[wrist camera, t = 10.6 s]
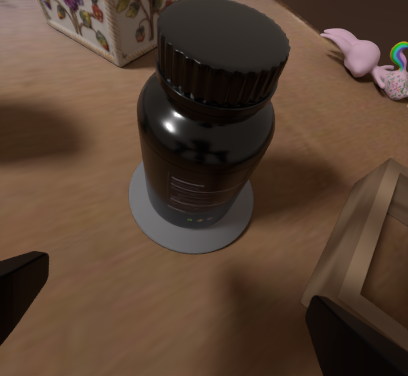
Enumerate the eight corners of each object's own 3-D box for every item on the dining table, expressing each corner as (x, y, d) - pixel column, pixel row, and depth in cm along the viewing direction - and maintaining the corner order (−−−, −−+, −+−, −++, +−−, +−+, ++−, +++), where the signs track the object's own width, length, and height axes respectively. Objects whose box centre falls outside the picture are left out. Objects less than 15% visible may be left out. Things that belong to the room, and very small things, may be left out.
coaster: (256, 259, 17) (257, 258, 16) (115, 247, 16) (114, 246, 15) (249, 152, 22) (250, 150, 21) (142, 138, 21) (142, 135, 20)
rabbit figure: (402, 100, 33) (321, 36, 34) (453, 64, 28) (355, -10, 29) (394, 122, 30) (305, 52, 31) (449, 87, 25) (340, 4, 26)
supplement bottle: (145, 158, 19) (126, -30, 9) (223, 156, 21) (284, -7, 10) (148, 237, 16) (123, 86, 6) (240, 228, 17) (355, 95, 7)
